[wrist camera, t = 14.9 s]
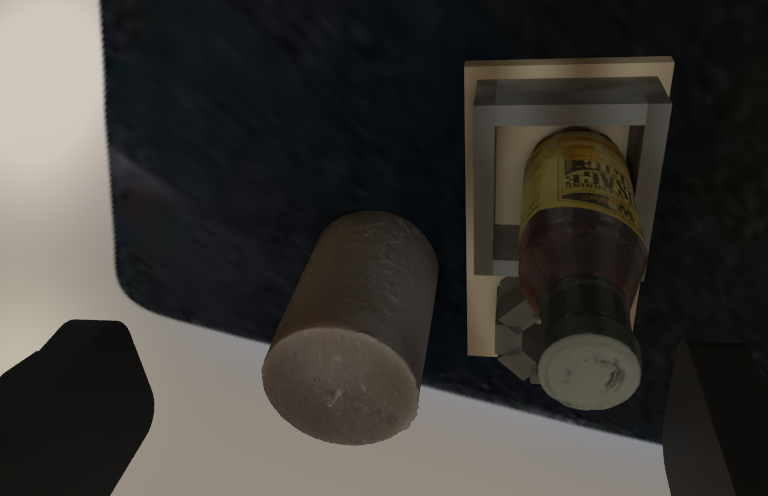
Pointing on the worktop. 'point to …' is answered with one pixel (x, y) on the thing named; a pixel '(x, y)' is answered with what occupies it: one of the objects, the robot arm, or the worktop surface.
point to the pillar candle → (356, 331)
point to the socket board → (508, 161)
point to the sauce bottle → (582, 267)
